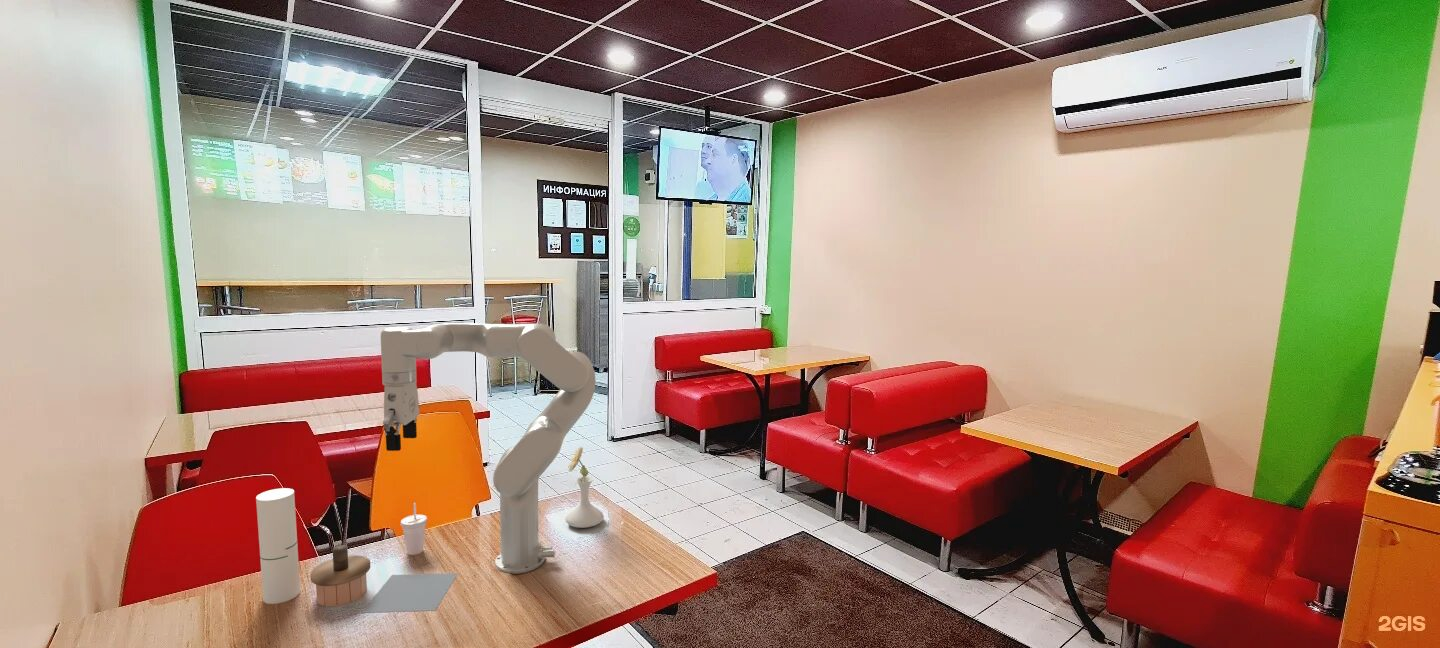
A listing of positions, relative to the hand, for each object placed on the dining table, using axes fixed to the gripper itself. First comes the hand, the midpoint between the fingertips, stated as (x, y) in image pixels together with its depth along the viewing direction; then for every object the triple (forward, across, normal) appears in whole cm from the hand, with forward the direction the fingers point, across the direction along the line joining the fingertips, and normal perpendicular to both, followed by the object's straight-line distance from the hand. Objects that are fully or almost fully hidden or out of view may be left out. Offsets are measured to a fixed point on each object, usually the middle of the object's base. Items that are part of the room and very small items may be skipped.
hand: (402, 443), depth 154 cm
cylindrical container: (+34, -11, +24) cm, 43 cm away
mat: (+33, -12, -6) cm, 36 cm away
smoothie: (+34, +8, +1) cm, 34 cm away
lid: (+27, -12, +10) cm, 31 cm away
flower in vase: (+34, +24, -42) cm, 59 cm away
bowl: (+33, -12, +10) cm, 37 cm away
